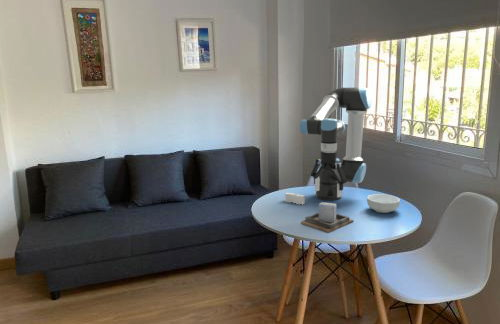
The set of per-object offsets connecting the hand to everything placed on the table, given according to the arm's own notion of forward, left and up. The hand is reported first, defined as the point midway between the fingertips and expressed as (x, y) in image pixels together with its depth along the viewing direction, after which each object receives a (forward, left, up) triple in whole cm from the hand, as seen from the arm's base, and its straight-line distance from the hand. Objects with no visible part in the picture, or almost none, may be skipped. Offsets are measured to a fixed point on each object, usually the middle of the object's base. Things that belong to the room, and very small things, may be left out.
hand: (328, 193), depth 199 cm
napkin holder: (-12, -32, -16) cm, 38 cm away
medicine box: (0, 0, -14) cm, 14 cm away
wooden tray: (0, 0, -15) cm, 15 cm away
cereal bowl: (-35, +10, -15) cm, 39 cm away
